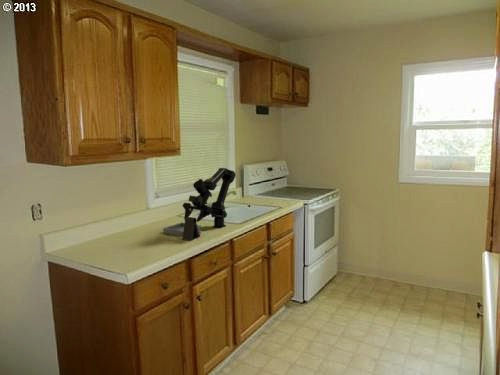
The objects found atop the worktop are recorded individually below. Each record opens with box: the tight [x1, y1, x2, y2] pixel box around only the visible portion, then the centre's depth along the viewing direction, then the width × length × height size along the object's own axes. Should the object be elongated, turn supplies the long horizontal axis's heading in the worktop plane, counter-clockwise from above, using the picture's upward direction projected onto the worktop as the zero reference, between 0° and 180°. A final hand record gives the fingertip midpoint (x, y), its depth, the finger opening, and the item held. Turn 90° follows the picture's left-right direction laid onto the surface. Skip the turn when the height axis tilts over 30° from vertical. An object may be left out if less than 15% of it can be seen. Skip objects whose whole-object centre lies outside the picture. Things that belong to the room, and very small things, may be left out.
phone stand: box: [181, 216, 201, 242], centre depth 208 cm, size 9×6×12 cm, turn 152°
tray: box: [162, 222, 202, 237], centre depth 223 cm, size 16×16×3 cm
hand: (190, 220), depth 208 cm, fingers open, 9 cm apart
